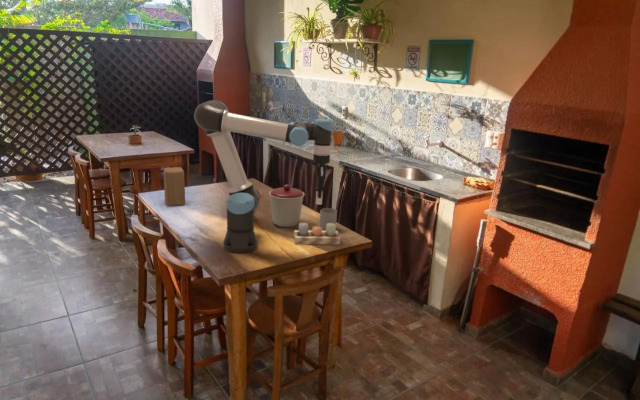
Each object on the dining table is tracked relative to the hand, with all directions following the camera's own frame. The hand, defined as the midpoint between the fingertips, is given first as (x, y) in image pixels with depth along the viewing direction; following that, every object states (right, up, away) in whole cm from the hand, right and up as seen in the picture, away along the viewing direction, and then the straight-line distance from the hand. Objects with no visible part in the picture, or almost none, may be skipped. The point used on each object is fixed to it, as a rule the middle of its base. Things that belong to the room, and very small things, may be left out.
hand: (318, 203), depth 209 cm
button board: (-1, -17, +4) cm, 18 cm away
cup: (+4, -13, +19) cm, 24 cm away
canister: (-17, -11, +24) cm, 31 cm away
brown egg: (-1, -16, +4) cm, 17 cm away
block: (-82, 0, +47) cm, 94 cm away
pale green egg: (+5, -14, +4) cm, 16 cm away
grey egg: (-7, -14, +3) cm, 16 cm away
